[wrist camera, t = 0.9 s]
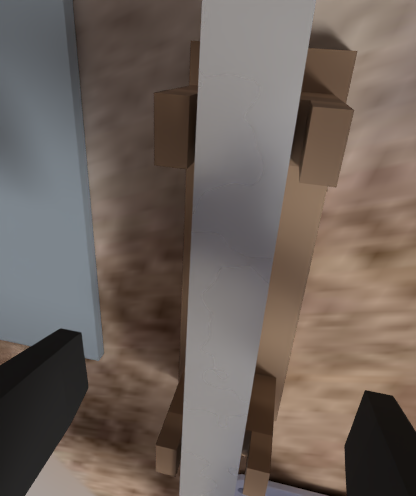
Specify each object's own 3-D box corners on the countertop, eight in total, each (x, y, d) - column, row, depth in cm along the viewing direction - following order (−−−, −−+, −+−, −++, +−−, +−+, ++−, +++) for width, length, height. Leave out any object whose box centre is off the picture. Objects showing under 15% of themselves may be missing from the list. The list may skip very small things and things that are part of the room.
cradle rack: (277, 404, 19) (270, 520, 14) (183, 383, 20) (146, 487, 15) (352, 51, 12) (392, 42, 7) (198, 42, 12) (135, 28, 8)
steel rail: (234, 486, 16) (227, 538, 14) (190, 474, 16) (177, 524, 15) (315, -12, 8) (321, -34, 6) (223, -15, 8) (203, -38, 6)
